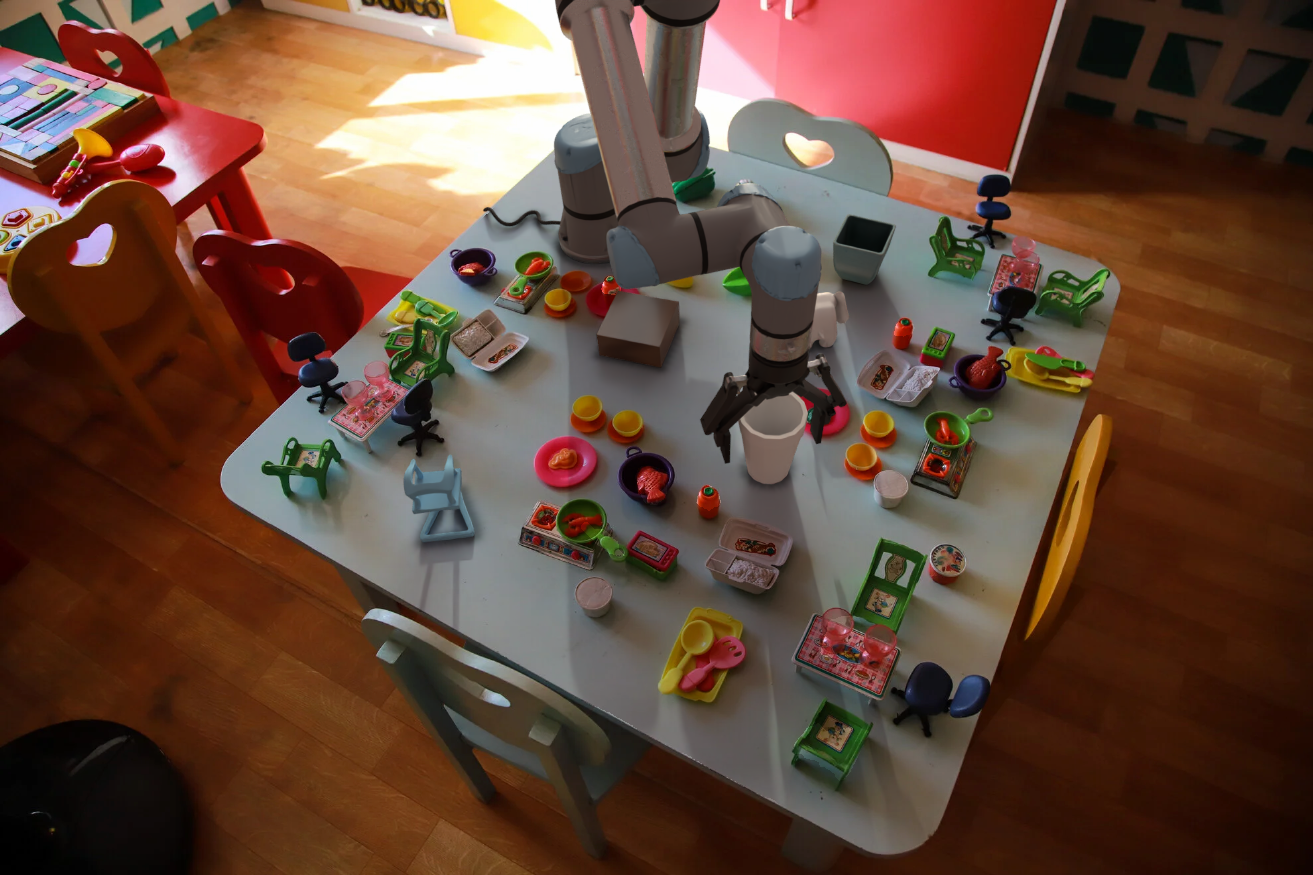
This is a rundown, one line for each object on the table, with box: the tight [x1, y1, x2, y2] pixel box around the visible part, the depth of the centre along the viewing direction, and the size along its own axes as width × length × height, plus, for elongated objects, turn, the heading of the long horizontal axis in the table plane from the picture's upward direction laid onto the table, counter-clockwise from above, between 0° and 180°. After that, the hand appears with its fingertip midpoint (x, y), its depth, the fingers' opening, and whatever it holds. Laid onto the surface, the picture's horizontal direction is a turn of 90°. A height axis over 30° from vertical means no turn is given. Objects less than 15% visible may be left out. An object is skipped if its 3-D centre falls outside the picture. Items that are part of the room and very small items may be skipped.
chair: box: [403, 454, 476, 543], centre depth 116 cm, size 8×8×12 cm
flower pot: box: [832, 213, 897, 286], centre depth 144 cm, size 9×9×9 cm
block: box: [595, 290, 681, 368], centre depth 139 cm, size 11×11×5 cm
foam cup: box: [737, 392, 809, 485], centre depth 118 cm, size 10×9×13 cm
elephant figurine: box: [810, 291, 850, 349], centre depth 136 cm, size 10×12×9 cm
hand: (770, 446), depth 119 cm, fingers open, 13 cm apart
